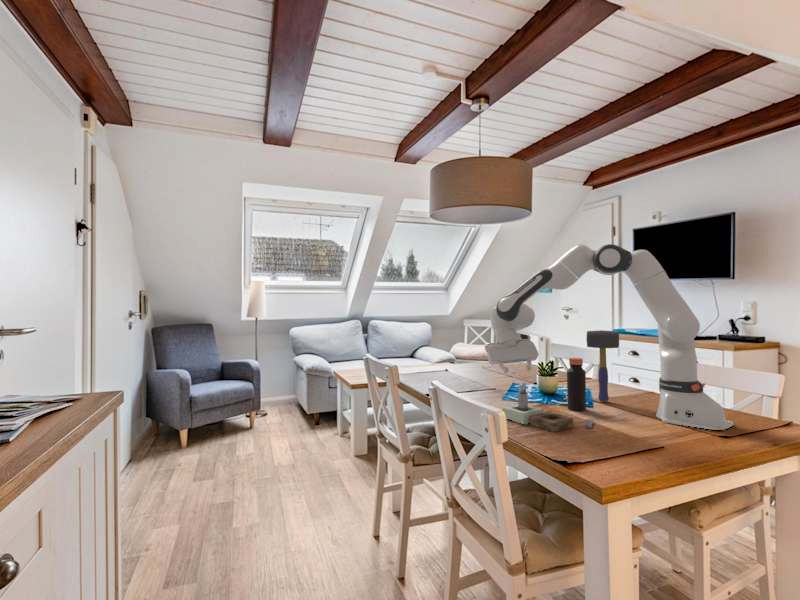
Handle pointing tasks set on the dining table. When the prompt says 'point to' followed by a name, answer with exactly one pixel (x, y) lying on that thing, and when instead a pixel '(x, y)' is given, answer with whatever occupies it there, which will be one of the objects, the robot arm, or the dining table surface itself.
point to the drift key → (589, 424)
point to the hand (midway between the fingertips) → (517, 371)
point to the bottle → (576, 385)
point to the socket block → (551, 421)
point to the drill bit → (522, 397)
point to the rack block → (521, 413)
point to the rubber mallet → (603, 356)
